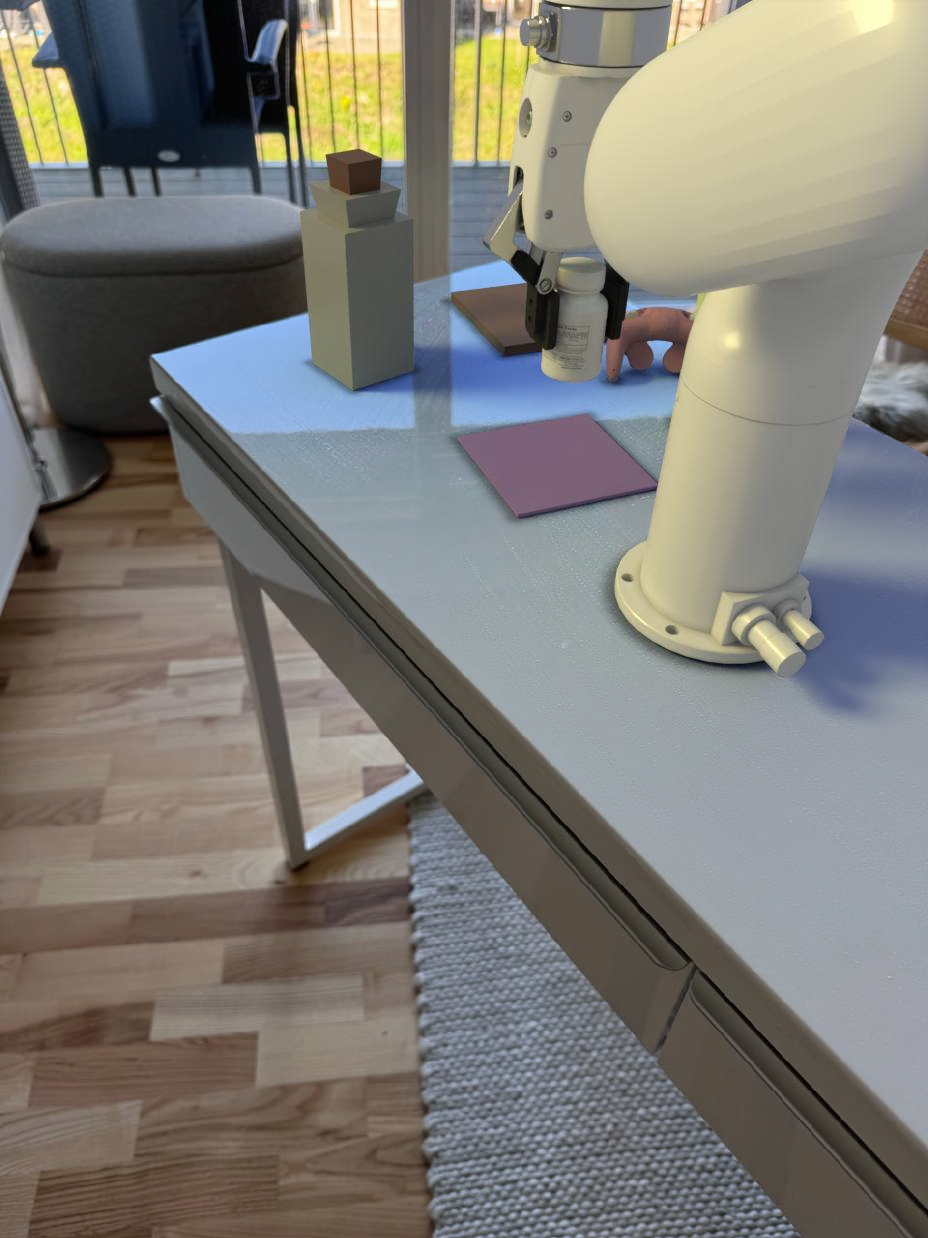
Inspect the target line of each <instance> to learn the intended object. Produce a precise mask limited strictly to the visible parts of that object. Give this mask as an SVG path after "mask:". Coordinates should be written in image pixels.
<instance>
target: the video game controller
mask: <svg viewBox="0 0 928 1238" xmlns="http://www.w3.org/2000/svg"><path fill="white" fill-rule="evenodd" d="M694 318H695V313H692V312H690V311H688V310H685V309H681V308H675V307H669V306H647V307H642V308H637V309H629V310H628V311H627V310H626V315H625V319H624V321H623V322H622V328H621V336H620V338H619V339H617V340H610V339H609V338H608V340H607V341H606V347H605V371H606V377H607V380H608V381H609V382H610V383H615V382H616V381H617V380H618V378H619V376H620V373H621V370H622V366H623V361H624V358H625V357H626V358H627V361H628V363H629V366H630V367H631V368H632V369H634V370H636V371H644V370H647V369H649V368H650V367H651V366H652V364H653V363H654V359H655V354H654V351H653V348H652V347H651V346H650V345H649V343H648V342H655V341H656V342H666V343H672V344H671V345H670V347H669V348H667V350H666V351H665V352H664V354H663V357H662V365H663V368H664V370H665V371H667V372H668V373H670V374H680V372H681V368H682V364H683V359H684V354H685V350H686V346H687V342H688V338H689V334H690V331H691V329H692V326H693V323H694ZM624 356H625V357H624Z"/></svg>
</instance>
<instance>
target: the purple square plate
mask: <svg viewBox="0 0 928 1238" xmlns="http://www.w3.org/2000/svg"><path fill="white" fill-rule="evenodd" d="M456 437H457V438H456V439H457V441H458V442H459V443H460V445H461V446H462V447H463V449H464V450H465V451H466V452H467V454H468V456H470V458H471V459H472V461H473V462H474V463H475V464H476V466H477V467H478V468H479V469H480V471H481V472H482V474H483V476H485V477H486V478H487V480H488V481H489V482H490V484H491V485H492V486H493V488H494V489H495V491H496V492H497V493H498V495H499V496H500V498H502V499H503V501H504V502H505V504H506V505H507V507H509V508H510V510H511V511H512V512H513V514H514V515H515V517H516V518H518V519H519V518H524V517H529V516H534V515H538V514H542V513H548V512H552V511H557V510H562V509H566V508H571V507H577V506H581V505H585V504H591V503H594V502H599V501H604V500H609V499H614V498H619V497H624V496H628V495H629V496H630V495H632V494H637V493H643V492H648V491H652V490H657V487H658V483H657V482H656V480H655V479H654V478H653V477H652V476H650V474H649V473H647V471H646V470H644V468H642V467H641V466H640V464H639V463H637V462H636V460H634V458H633V457H631V456H630V454H628V453H627V451H625V449H623V448H622V447H621V446H620V445H619V444H618V443H617V442H616V441H615V440H614V438H613V437H611V436H610V435H609V434H608V433H607V432H606V431H605V430H604V429H603V428H602V427H601V426H600V425H599V424H598V423H597V422H596V421H595V420H594V419H593V418H592V417H591V416H590V415H589V414H588V413H581V414H576V415H571V416H564V417H559V418H554V419H553V418H552V419H546V420H542V421H535V422H531V423H525V424H519V425H514V426H507V427H502V428H496V429H491V430H484V431H479V432H475V433H468V434H463V435H457V436H456Z"/></svg>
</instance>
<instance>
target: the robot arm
mask: <svg viewBox="0 0 928 1238" xmlns="http://www.w3.org/2000/svg"><path fill="white" fill-rule="evenodd" d="M673 3H674V0H541V1H540V2H539V3H538V11H537V15H534V16H533V18H531V17H530V18H523V19H522V20H521V22H520V26H519V40H520V43H521V45H522V46H523V47H533V48H534V49H535V55H537V56H538V57H537V59H538V60H537V62H536V63H530V64H529V65H528V68H527V72H526V76H525V80H524V83H523V87H522V91H521V97H520V101H519V106H518V111H517V117H516V122H515V126H514V127H515V128H514V134H513V141H512V149H511V155H510V156H511V158H510V164H509V165H510V166H509V177H508V187H507V190H508V191H507V197H506V199H505V201H504V203H503V204H502V206H501V208H500V209H499V210H498V212H497V214H496V215H495V217H494V218H493V220H492V222H491V223H490V225H489V226H488V228H487V230H486V231H485V232H484V235H483V237H482V242H481V243H482V245H483V246H484V247H486V249H487V250H489V251H490V252H491V253H493V254H494V255H495V256H497V257H498V258H500V259H501V260H503V261H504V262H505V263H507V264H508V265H509V266H510V267H511V268H512V269H513V270H514V272H516V273H517V274H518V276H520V277H521V280H523V281H524V282H525V283H527V296H526V312H525V328H526V330H527V332H528V333H529V336H530V337H531V338H532V339H533V340H534V341H535V342H536V343H537V344H539V345H540V346H541V347H542V348H543V349H544V350H552V349H554V347H555V346H556V339H557V328H558V317H559V305H560V295H559V294H558V293H557V292H556V291H554V290H553V289H554V283H555V279H556V276H557V272H558V269H559V265H560V262H561V259H563V255H564V252H574V251H583V250H591V249H592V250H593V249H598V250H599V252H600V253H601V255H602V257H603V259H604V260H603V261H604V264H605V266H606V273H605V283H604V287H603V289H602V290H601V291H600V293H601V294H603V295H604V296H605V298H606V299H607V302H608V313H607V321H606V329H605V336H606V337H607V338H609V339H610V340H617V339H619V338H620V336H621V328H622V322H623V321H624V319H625V315H626V312H627V307H628V301H629V293H630V284H631V285H633V286H634V287H637V288H638V289H639V290H642V291H645V292H647V293H649V294H653V295H656V296H661V297H667V298H688V297H694V296H698V295H699V294H704V293H707V294H706V296H705V298H704V300H703V302H702V304H701V306H700V308H699V310H698V313H697V315H696V317H695V320H694V323H693V326H692V329H691V331H690V334H689V338H688V342H687V346H686V350H685V354H684V359H683V364H682V368H681V372H679V378H678V382H677V388H676V393H675V397H674V402H673V407H672V413H671V417H670V423H669V427H668V432H667V438H666V442H665V447H664V452H663V457H662V463H661V468H660V473H659V477H658V483H657V484H658V487H657V489H656V492H655V499H654V502H653V503H654V504H653V508H652V512H651V517H650V523H649V528H648V532H647V537H646V539H645V540H643V541H640V542H639V543H638V544H636V545H634V546H633V547H632V548H631V549H629V550H628V551H627V552H626V553H625V555H624V556H622V558H621V560H620V561H619V564H618V566H617V569H616V573H615V578H614V583H613V584H614V597H615V601H616V603H617V605H618V608H619V610H620V611H621V613H622V614H623V616H624V617H625V619H626V620H627V621H628V622H629V623H630V624H631V625H632V626H633V627H634V628H635V630H636V631H638V632H639V633H640V634H642V635H643V636H644V637H646V639H647V638H648V639H649V640H650V641H651V642H653V643H655V644H657V645H659V646H661V647H662V648H663V649H666V650H668V651H671V652H674V653H677V654H679V655H681V656H684V657H687V658H691V659H695V660H699V661H702V662H708V663H715V664H716V663H717V664H724V665H726V664H727V665H728V664H729V665H730V664H731V665H732V664H734V665H735V664H751V663H756V662H765V663H766V664H767V665H768V666H769V667H770V668H771V669H772V670H773V671H774V673H775V674H777V676H778V677H781V678H788V677H790V676H792V675H794V674H796V673H797V672H798V671H799V670H801V669H802V668H803V666H804V665H805V663H806V661H807V654H806V653H805V652H804V650H802V649H801V648H800V647H799V646H798V645H797V643H799V644H800V645H801V646H802V647H803V648H804V649H805V650H806V651H812V650H814V649H816V648H817V647H819V646H820V645H821V644H822V643H823V641H824V640H825V634H824V633H823V632H822V631H821V630H820V629H819V628H818V627H817V626H816V625H815V624H814V623H813V622H812V621H811V620H810V619H811V616H812V599H811V595H810V592H809V590H808V589H809V586H810V583H811V582H810V581H809V580H808V579H807V578H806V577H805V576H804V575H803V574H802V573H801V572H800V570H801V567H802V563H803V562H804V558H805V555H806V553H807V550H808V547H809V543H810V540H811V539H812V538H811V537H812V535H813V532H814V528H815V526H816V524H817V520H818V518H819V514H820V511H821V509H822V506H823V503H824V500H825V498H826V494H827V491H828V488H829V485H830V483H831V479H832V476H833V475H834V470H835V468H836V464H837V461H838V460H839V456H840V452H841V450H842V448H843V445H844V443H845V438H846V436H847V432H848V430H849V428H850V424H851V422H852V418H853V415H854V413H855V410H856V407H857V405H858V403H859V400H860V397H861V395H862V392H863V388H864V386H865V384H866V383H865V382H866V380H867V377H868V375H869V371H870V369H871V366H872V363H873V360H874V357H875V355H876V352H877V349H878V346H879V344H880V341H881V339H882V337H883V334H884V332H885V330H886V327H887V325H888V322H889V320H890V319H891V315H892V313H893V311H894V309H895V307H896V304H897V302H898V300H899V298H900V296H901V294H902V293H903V290H904V289H905V287H906V285H907V282H908V281H909V279H910V277H911V276H912V274H913V272H914V270H915V268H916V266H917V265H918V263H919V261H920V260H921V257H922V256H923V254H924V252H925V251H928V0H750V1H748V2H747V3H745V4H743V5H742V6H740V7H738V8H737V9H735V10H733V11H731V12H730V13H728V14H726V15H725V16H723V17H721V18H719V19H718V20H716V21H714V22H713V23H711V24H709V25H707V26H705V27H704V28H702V29H701V30H699V31H697V32H695V33H694V34H692V35H690V36H689V37H687V38H685V39H683V40H682V41H680V42H679V43H677V44H675V45H673V46H672V47H670V48H669V49H668V42H669V35H670V26H671V21H672V14H673V13H672V12H673ZM517 233H519V234H521V235H522V234H523V235H526V238H527V240H528V242H527V247H526V249H525V250H524V249H522V248H521V247H520V246H518V245H517V244H516V243H515V235H516V234H517Z"/></svg>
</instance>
